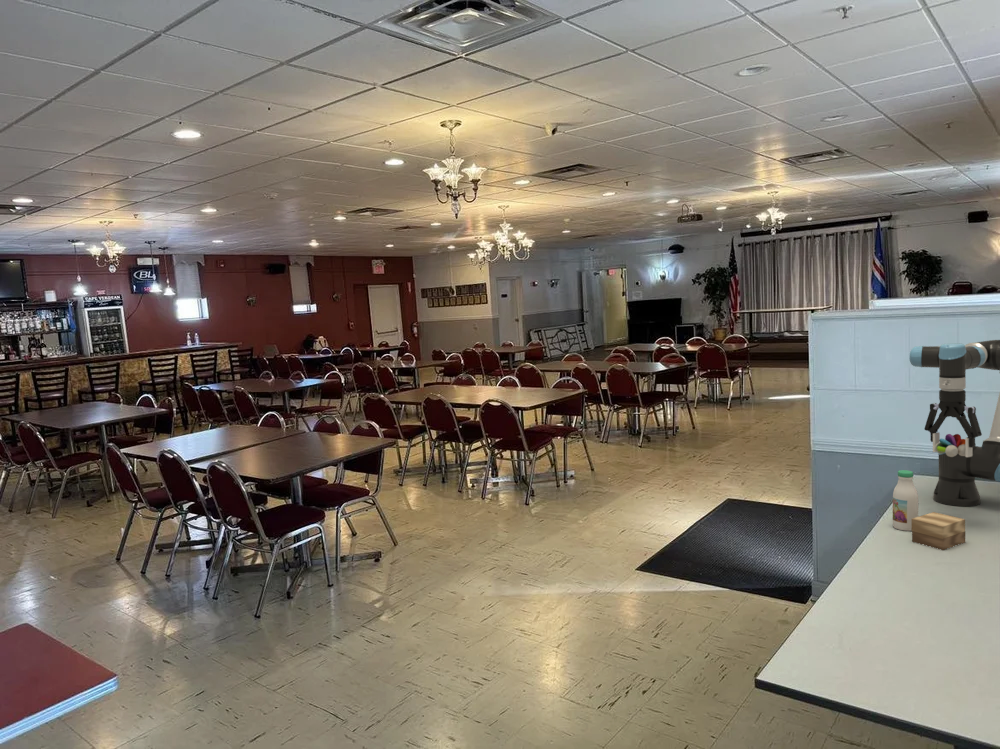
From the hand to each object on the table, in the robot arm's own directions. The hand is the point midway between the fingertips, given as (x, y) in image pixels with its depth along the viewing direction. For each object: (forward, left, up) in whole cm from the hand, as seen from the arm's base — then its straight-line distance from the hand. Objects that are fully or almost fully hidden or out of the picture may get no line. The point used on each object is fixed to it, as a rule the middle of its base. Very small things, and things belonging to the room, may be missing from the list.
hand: (952, 453), depth 238 cm
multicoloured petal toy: (0, 0, -1) cm, 1 cm away
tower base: (+18, +6, -26) cm, 32 cm away
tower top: (+18, +6, -22) cm, 29 cm away
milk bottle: (+13, -8, -26) cm, 30 cm away
